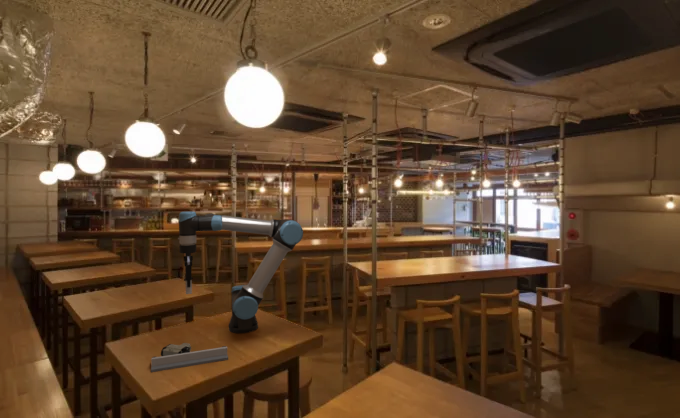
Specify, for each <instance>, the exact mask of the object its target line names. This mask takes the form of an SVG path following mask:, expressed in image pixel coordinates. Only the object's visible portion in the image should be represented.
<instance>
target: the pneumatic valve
mask: <svg viewBox="0 0 680 418" xmlns="http://www.w3.org/2000/svg"><path fill="white" fill-rule="evenodd" d="M191 350H192V346H191V343H188V342H183V343H181V344H173V343H170V344H168V345H166V346H164V347H162V349H161V350H160V357H161V356H168V355H174V354H181V353H188V352H191Z"/></svg>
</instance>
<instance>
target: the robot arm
mask: <svg viewBox="0 0 680 418" xmlns="http://www.w3.org/2000/svg"><path fill="white" fill-rule="evenodd" d="M219 231H229V232H239V233H240V232H241V233H248V234H249V233H250V234H258V235H268V236H269V237H270V238H272V244H271V246H270V248H269V249H268V251H267V253H266V254H265V256H264V257H263V259H262V260H261V262H260V264H259V266H258V267H257V269H256V270H255V272H254V274H252V277H251V278H250V280H249V281H248V283H247V284H241V285H235V286H232V287H231V291H230V292H231V317H230V321H229V323H228V332H230V333H234V334H247V333H252V332H255V331H256V330H258V328H259V322H258V320H257V316H256V314H257V312H258V310H259V306H260V304H261V302H262V300H263V299H264V295H263V293H264V292H265V289H266V288H267V286H268V285H269V283H270V281H271V280H272V278H273V277H274V275H275V274H276V272H277V270H278V269H279V267H280V265H281V264H282V262H283V261H284V259H285V257H286V256H287V254H288V252H291V251H293V250H294V248H295V247H296V245H298V243H300V242H301V241H302V239H303V236H304V230H303V227H302V225H301V224H300V223H298V221H296V220H293V219H285V218H284V219H275V218H272V219H270V220H267V219H260V218H259V219H258V218H248V217H240V216H230V215H220V214H214V213H207V214H205V215H197V212H196V211H181V212H179V214H178V233H179V234H178V237H177V240H179V243H178V244H180V245H179V247H178V249H179V253H180V254H185V255H184V256H183V262H184V267H185V279H184V280H183V281H184V282H185V295H191V294H193V283H192V282H193V281H192V280H193V279H194V278H193V276H192V266H193V261H194V258H193V255H192V254H194V253H196V252H197V250H198V249H197V232H219Z"/></svg>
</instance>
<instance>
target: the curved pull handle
mask: <svg viewBox="0 0 680 418" xmlns="http://www.w3.org/2000/svg"><path fill="white" fill-rule="evenodd" d="M150 361H151V363H150V364H151V365H150V366H151V368H150V373H156V372H161V371H168V370H173V369H179V368H186V367H192V366H198V365H205V364H210V363H217V362H222V361H229V356H228V346H226V345H223V346H221V347H214V348H208V349H203V350H196V351H190V352H188V353H181V354H174V355H168V356H161V355H160V356H152V357H151V359H150Z"/></svg>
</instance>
